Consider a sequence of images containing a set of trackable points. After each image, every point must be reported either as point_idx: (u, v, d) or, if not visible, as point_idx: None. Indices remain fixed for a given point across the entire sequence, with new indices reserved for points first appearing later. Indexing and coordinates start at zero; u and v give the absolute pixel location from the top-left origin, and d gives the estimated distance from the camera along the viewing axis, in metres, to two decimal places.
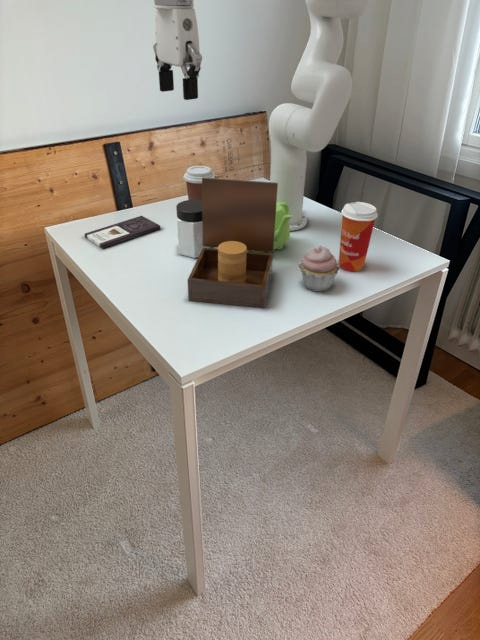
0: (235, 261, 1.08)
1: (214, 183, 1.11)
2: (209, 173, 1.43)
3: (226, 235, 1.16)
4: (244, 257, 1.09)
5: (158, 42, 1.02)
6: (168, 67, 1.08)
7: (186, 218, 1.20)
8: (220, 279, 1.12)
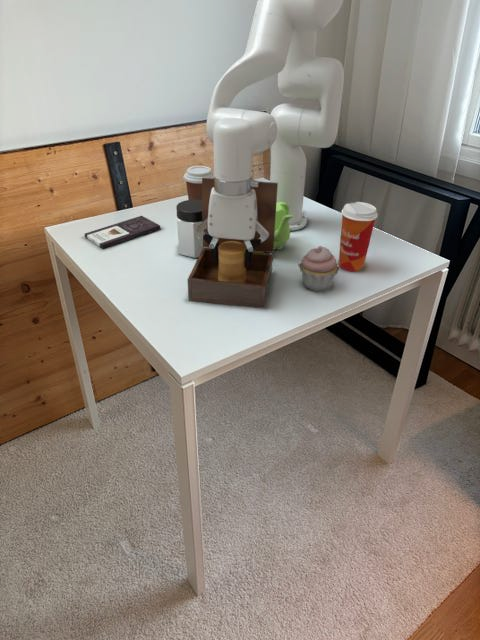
0: (235, 261, 1.08)
1: None
2: (209, 173, 1.43)
3: None
4: (244, 257, 1.09)
5: (215, 222, 1.04)
6: None
7: (186, 218, 1.20)
8: (220, 279, 1.12)
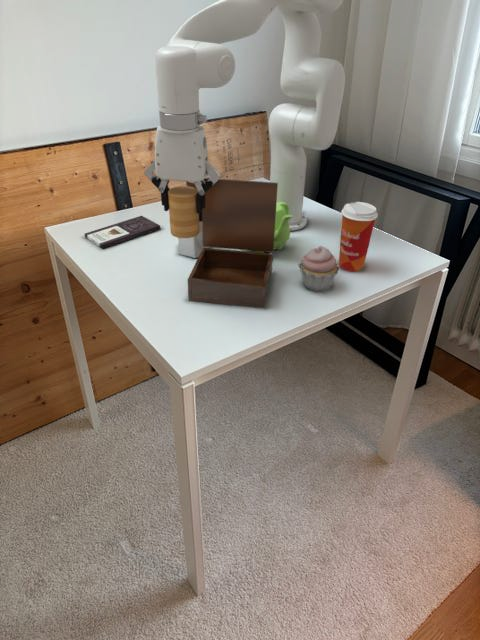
0: (186, 205, 1.02)
1: None
2: None
3: (226, 235, 1.16)
4: (195, 201, 1.04)
5: (163, 162, 0.99)
6: (167, 185, 1.04)
7: None
8: (171, 226, 1.06)
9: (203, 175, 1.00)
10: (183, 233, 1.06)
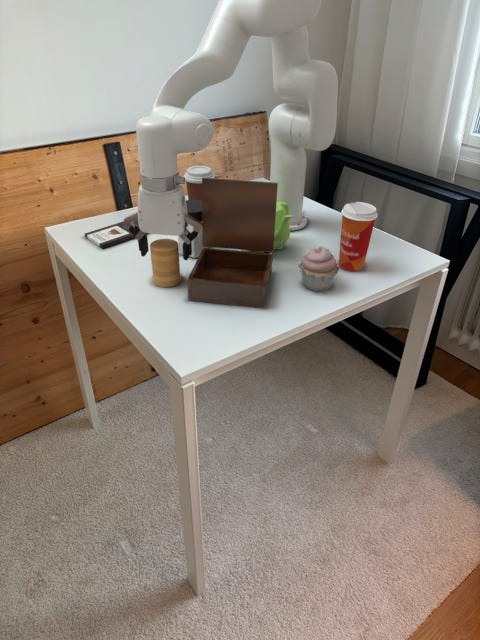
0: (166, 258, 1.10)
1: (214, 183, 1.11)
2: (209, 173, 1.43)
3: (226, 235, 1.16)
4: (175, 254, 1.11)
5: (145, 218, 1.07)
6: (144, 234, 1.12)
7: None
8: (154, 276, 1.14)
9: (182, 230, 1.07)
10: (164, 282, 1.14)
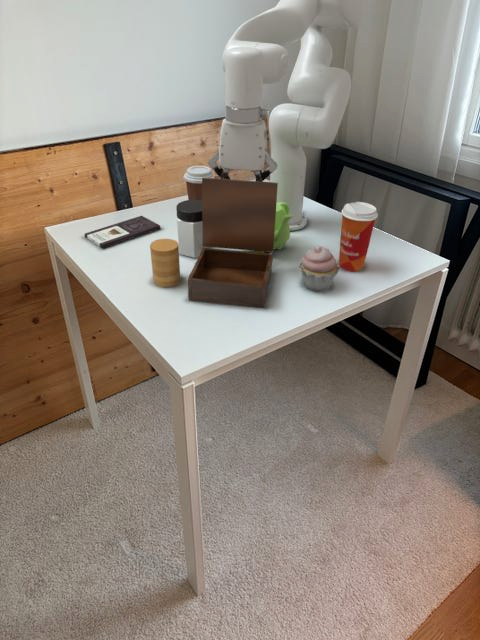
0: (166, 258, 1.10)
1: (214, 183, 1.11)
2: (209, 173, 1.43)
3: (226, 235, 1.16)
4: (175, 254, 1.11)
5: (226, 153, 1.08)
6: None
7: (186, 218, 1.20)
8: (154, 276, 1.14)
9: (263, 164, 1.09)
10: (164, 282, 1.14)
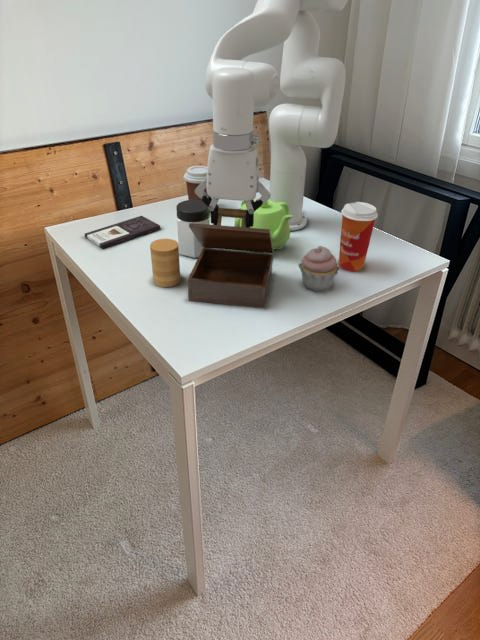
0: (166, 258, 1.10)
1: (202, 229, 1.04)
2: None
3: (224, 245, 1.15)
4: (175, 254, 1.11)
5: (215, 181, 0.99)
6: None
7: (186, 218, 1.20)
8: (154, 276, 1.14)
9: (254, 194, 1.00)
10: (164, 282, 1.14)
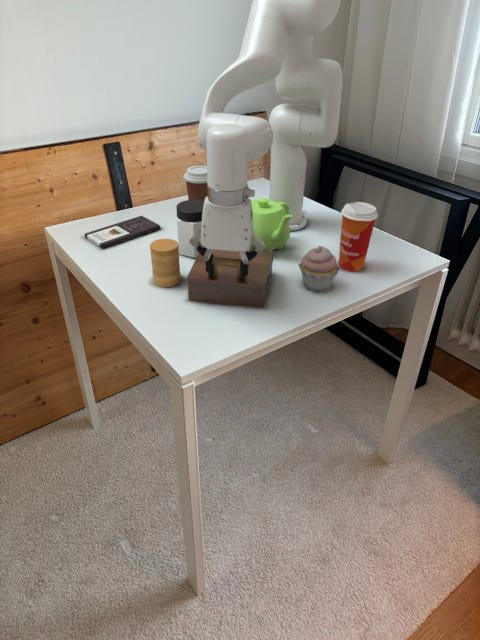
0: (166, 258, 1.10)
1: None
2: None
3: None
4: (175, 254, 1.11)
5: (209, 233, 0.99)
6: None
7: (186, 218, 1.20)
8: (154, 276, 1.14)
9: (249, 246, 1.00)
10: (164, 282, 1.14)
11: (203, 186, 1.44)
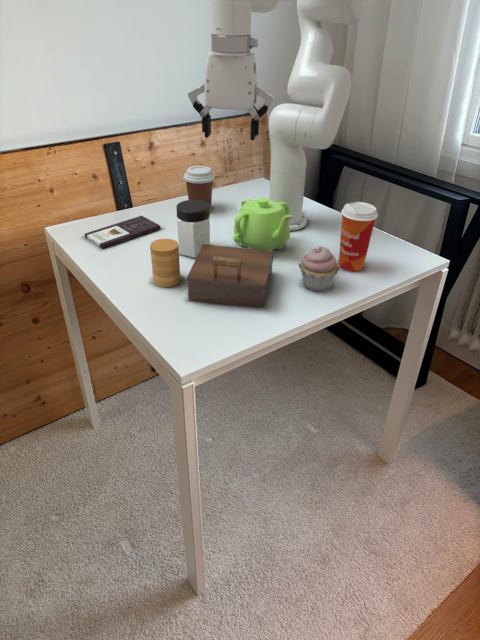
0: (166, 258, 1.10)
1: None
2: (209, 173, 1.43)
3: None
4: (175, 254, 1.11)
5: (213, 89, 0.99)
6: (208, 112, 1.05)
7: (186, 218, 1.20)
8: (154, 276, 1.14)
9: (252, 102, 1.00)
10: (164, 282, 1.14)
11: (203, 186, 1.44)
